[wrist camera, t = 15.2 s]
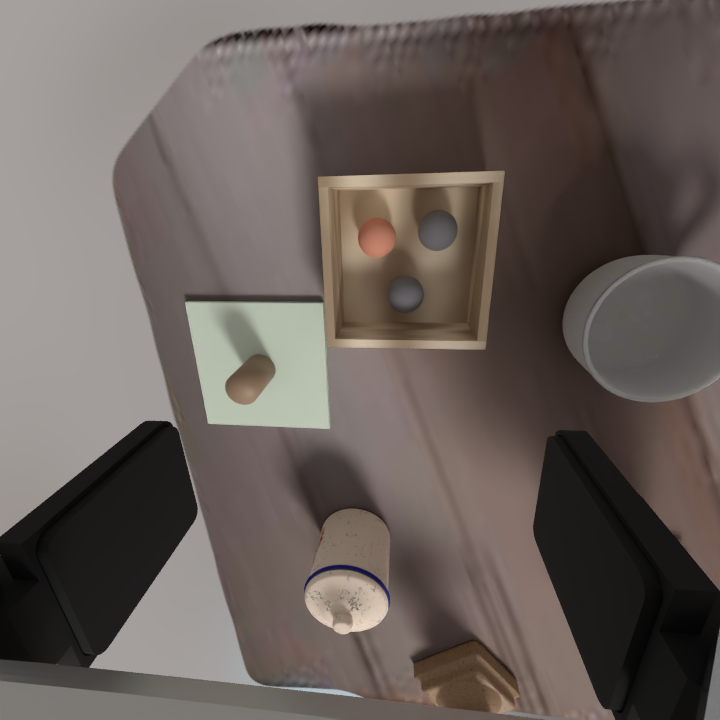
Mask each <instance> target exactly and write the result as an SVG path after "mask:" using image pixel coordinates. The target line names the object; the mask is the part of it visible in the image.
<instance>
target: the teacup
mask: <svg viewBox="0 0 720 720" xmlns="http://www.w3.org/2000/svg"><path fill="white" fill-rule="evenodd" d="M563 334H564V338H565V341H566V344H567V346H568V348H569V350H570V352H571V353H572V355H573V356H574V357H575V359H576V360H577V361H578V362H579V363H580V364H581V365H582V366H583V367H584V368H585V369H586V370H587V371H588V372H589V373H590V374H591V375H592V376H593V378H594V379H595V380H596V381H597V382H598V383H599V384H600V385H601V386H602V387H603V388H605V389H607V390H608V391H610V392H611V393H614V394H616V395H617V396H620V397H623V398H626V399H629V400H633V401H639V402H665V401H671V400H675V399H680V398H683V397H686V396H689V395H690V394H693V393H696V392H698V391H699V390H701V389H703V388H705V387H707V386H709V385H711V384H712V383H713V382H715V381H716V380H717V379H719V378H720V264H719V263H717V262H714V261H711V260H708V259H705V258H701V257H695V256H665V255H637V256H630V257H625V258H621V259H617V260H614V261H612V262H609V263H607V264H605V265H603V266H601V267H599V268H598V269H596V270H594V271H593V272H592V273H590V274H589V275H588V276H587V277H586V278H584V279H583V280H582V281H581V282H580V284H579V285H578V286H577V287H576V288H575V290H574V291H573V293H572V294H571V296H570V298H569V300H568V302H567V304H566V307H565V311H564V315H563Z"/></svg>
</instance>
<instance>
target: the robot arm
mask: <svg viewBox="0 0 720 720" xmlns="http://www.w3.org/2000/svg"><path fill="white" fill-rule="evenodd" d="M197 509H198V508H197V503H196V499H195V495H194V491H193V487H192V483H191V479H190V475H189V471H188V467H187V463H186V459H185V455H184V451H183V447H182V443H181V439H180V436H179V432H178V430H177V428H175V427H173V426H172V424H171V423H170V422H168V421H145V422H143V423H142V424H140V425H139V426H138V427H137V428H135V429H134V430H133V431H132V432H130V433H129V434H128V435H127V436H125V437H124V438H123V439H122V440H120V441H119V442H118V443H117V444H115V445H114V446H113V447H112V448H110V449H109V450H108V451H107V452H105V453H104V454H103V455H102V456H100V457H99V458H98V459H97V460H95V461H94V462H93V463H92V464H90V465H89V466H88V467H87V468H85V469H84V470H83V471H82V472H80V473H79V474H78V475H77V476H75V477H74V478H73V479H72V480H70V481H69V482H68V483H67V484H65V485H64V486H63V487H62V488H60V489H59V490H58V491H57V492H55V493H54V494H53V495H52V496H50V497H49V498H48V499H47V500H45V501H44V502H43V503H42V504H41V505H40V506H38V507H37V508H36V509H34V510H33V511H32V512H31V513H29V514H28V515H27V516H25V517H24V518H23V519H22V520H20V521H19V522H18V523H17V524H15V525H14V526H13V527H12V528H10V529H9V530H8V531H7V532H5V533H4V534H3V535H2V536H0V720H543V719H535V718H528V717H520V716H513V715H505V714H497V713H488V712H480V711H471V710H463V709H454V708H446V707H437V706H429V705H420V704H412V703H403V702H394V701H386V700H377V699H369V698H360V697H352V696H343V695H334V694H325V693H316V692H307V691H298V690H289V689H280V688H272V687H262V686H254V685H244V684H235V683H226V682H217V681H208V680H199V679H190V678H181V677H172V676H161V675H152V674H143V673H133V672H124V671H114V670H105V669H95V668H89V667H90V665H91V664H92V662H93V661H94V659H95V658H96V657H97V655H99V654H102V653H103V652H104V651H105V650H106V649H107V648H108V647H109V645H110V644H111V643H112V641H113V640H114V638H115V637H116V635H117V634H118V632H119V631H120V629H121V628H122V626H123V625H124V623H125V622H126V620H127V619H128V618H129V616H130V614H131V613H132V612H133V610H134V609H135V607H136V606H137V604H138V603H139V601H140V600H141V598H142V597H143V596H144V594H145V593H146V591H147V590H148V588H149V587H150V585H151V584H152V583H153V581H154V580H155V578H156V576H157V575H158V574H159V572H160V571H161V569H162V568H163V566H164V565H165V564H166V562H167V561H168V559H169V558H170V556H171V555H172V553H173V552H174V550H175V549H176V547H177V546H178V544H179V543H180V541H181V540H182V538H183V537H184V536H185V534H186V533H187V531H188V530H189V528H190V527H191V525H192V524H193V523H194V520H195V519H196V516H197ZM533 530H534V537H535V540H536V543H537V546H538V548H539V551H540V553H541V556H542V558H543V561H544V564H545V566H546V569H547V571H548V574H549V576H550V579H551V581H552V584H553V586H554V589H555V591H556V594H557V597H558V599H559V602H560V604H561V607H562V609H563V612H564V614H565V617H566V619H567V622H568V624H569V627H570V630H571V632H572V635H573V637H574V640H575V642H576V645H577V647H578V650H579V652H580V655H581V657H582V660H583V663H584V665H585V668H586V670H587V673H588V675H589V678H590V680H591V683H592V685H593V688H594V690H595V693H596V695H597V698H598V700H599V702H600V704H601V705H602V707H604V708H605V709H611V710H612V712H613V715H614V717H615V720H720V591H719V590H718V589H717V587H716V586H715V585H714V584H713V582H712V581H711V580H710V579H709V578H708V576H707V575H706V574H705V573H704V572H703V570H702V569H701V568H700V567H699V566H698V564H697V563H696V562H695V561H694V560H693V558H692V557H691V556H690V555H689V553H688V552H687V551H686V550H685V549H684V547H683V546H682V545H681V544H680V543H679V541H678V540H677V539H676V538H675V537H674V535H673V534H672V533H671V532H670V530H669V529H668V528H667V527H666V526H665V524H664V523H663V522H662V521H661V520H660V518H659V517H658V516H657V515H656V514H655V512H654V511H653V510H652V509H651V508H650V506H649V505H648V504H647V503H646V501H645V500H644V499H643V498H642V497H641V496H640V495H639V494H638V493H637V492H636V491H635V490H634V488H633V487H632V486H631V485H630V483H629V482H628V481H627V480H626V479H625V477H624V476H623V475H622V474H621V473H620V471H619V470H618V469H617V468H616V466H615V465H614V464H613V463H612V462H611V460H610V459H609V458H608V457H607V456H606V454H605V453H604V452H603V451H602V449H601V448H600V447H599V446H598V445H597V443H596V442H595V441H594V440H593V439H592V437H591V436H590V435H589V434H588V433H587V432H586V431H569V430H559V431H557V432H556V434H555V436H550V437H548V439H547V443H546V450H545V456H544V462H543V468H542V474H541V480H540V487H539V493H538V499H537V505H536V511H535V518H534V524H533ZM57 664H58V665H57Z"/></svg>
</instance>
